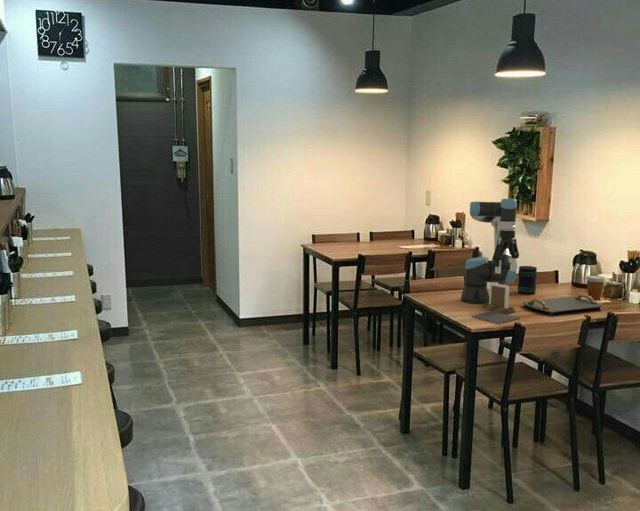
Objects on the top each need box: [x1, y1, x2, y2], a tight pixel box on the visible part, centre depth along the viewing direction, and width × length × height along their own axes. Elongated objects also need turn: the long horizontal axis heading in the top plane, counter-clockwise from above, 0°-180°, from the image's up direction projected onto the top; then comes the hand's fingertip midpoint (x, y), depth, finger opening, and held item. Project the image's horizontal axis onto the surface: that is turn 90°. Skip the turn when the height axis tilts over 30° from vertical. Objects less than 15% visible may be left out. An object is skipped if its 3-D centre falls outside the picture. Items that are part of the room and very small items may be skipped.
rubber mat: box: [471, 311, 521, 325], centre depth 303 cm, size 16×16×1 cm
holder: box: [481, 303, 516, 315], centre depth 317 cm, size 14×8×3 cm, turn 38°
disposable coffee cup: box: [585, 275, 606, 300], centre depth 344 cm, size 10×10×12 cm
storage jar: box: [517, 265, 538, 296], centre depth 355 cm, size 10×10×15 cm
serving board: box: [522, 293, 604, 317], centre depth 322 cm, size 39×23×6 cm, turn 112°
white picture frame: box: [488, 282, 510, 308], centre depth 316 cm, size 10×2×12 cm, turn 38°
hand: (505, 272), depth 314 cm, fingers open, 13 cm apart
